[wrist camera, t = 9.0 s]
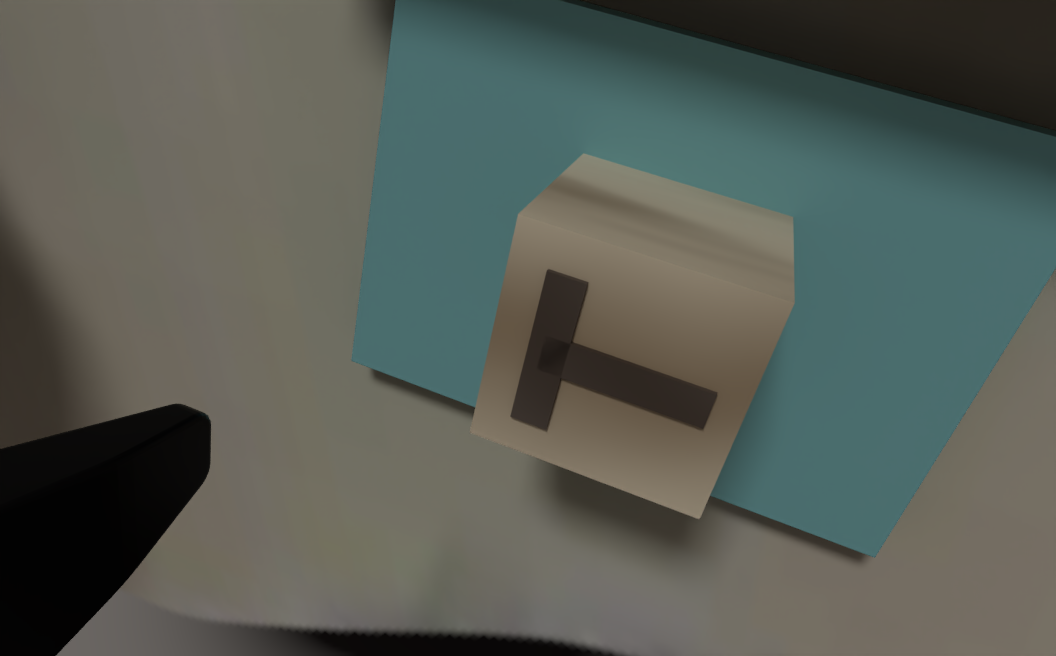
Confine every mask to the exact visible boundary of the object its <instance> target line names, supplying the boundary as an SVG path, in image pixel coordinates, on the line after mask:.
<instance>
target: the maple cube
mask: <svg viewBox="0 0 1056 656" xmlns="http://www.w3.org/2000/svg"><path fill="white" fill-rule="evenodd" d="M794 304H795V291H794V232H793V217H792V216H788V215H785V214H782V213H779V212H775V211H772V210H769V209H765V208H762V207H759V206H755V205H752V204H749V203H746V202H742V201H739V200H736V199H732V198H729V197H726V196H722V195H719V194H716V193H713V192H709V191H706V190H703V189H699V188H696V187H693V186H690V185H686V184H683V183H680V182H676V181H673V180H670V179H666V178H663V177H660V176H657V175H653V174H650V173H647V172H643V171H640V170H637V169H634V168H630V167H627V166H624V165H620V164H617V163H614V162H610V161H607V160H604V159H601V158H597V157H594V156H591V155H587V154H584V153H583V154H582V155H581V156H580V157H579V158H578V159H577V160H576V161H575V162H574V163H573V164H571V165H570V166H569V167H568V168H567V169H566V170H565V171H564V172H563V173H562V174H561V175H560V176H559V177H557V178H556V179H555V180H554V181H553V182H552V183H551V184H550V185H549V186H548V187H547V188H546V189H544V190H543V191H542V192H541V193H540V194H539V195H538V196H537V197H536V198H535V199H534V200H533V201H532V202H530V203H529V204H528V205H527V206H526V207H525V208H524V209H523V210H522V211H521V212H520V213H519V214H518V217H517V221H516V226H515V230H514V235H513V239H512V244H511V248H510V253H509V257H508V262H507V266H506V271H505V276H504V280H503V285H502V289H501V294H500V298H499V303H498V307H497V312H496V316H495V321H494V325H493V330H492V334H491V339H490V343H489V348H488V352H487V357H486V362H485V366H484V371H483V375H482V380H481V384H480V389H479V393H478V398H477V402H476V407H475V411H474V416H473V420H472V425H471V429H470V433H472V434H475V435H477V436H480V437H483V438H485V439H488V440H491V441H493V442H496V443H499V444H501V445H504V446H507V447H509V448H512V449H514V450H517V451H520V452H522V453H525V454H528V455H530V456H533V457H536V458H538V459H541V460H544V461H546V462H549V463H551V464H554V465H557V466H559V467H562V468H565V469H567V470H570V471H573V472H575V473H578V474H581V475H583V476H586V477H588V478H591V479H594V480H596V481H599V482H602V483H604V484H607V485H610V486H612V487H615V488H618V489H620V490H623V491H626V492H628V493H631V494H633V495H636V496H639V497H641V498H644V499H647V500H649V501H652V502H655V503H657V504H660V505H663V506H665V507H668V508H670V509H673V510H676V511H678V512H681V513H684V514H686V515H689V516H692V517H694V518H697V519H700V517H701V515H702V512H703V510H704V508H705V506H706V503H707V501H708V499H709V497H710V494H711V492H712V490H713V487H714V485H715V483H716V481H717V478H718V476H719V474H720V472H721V469H722V467H723V465H724V462H725V460H726V458H727V456H728V453H729V451H730V449H731V447H732V444H733V442H734V440H735V438H736V435H737V433H738V431H739V428H740V426H741V424H742V422H743V419H744V417H745V415H746V413H747V410H748V408H749V406H750V403H751V401H752V399H753V397H754V394H755V392H756V390H757V388H758V385H759V383H760V381H761V378H762V376H763V374H764V372H765V369H766V367H767V365H768V363H769V360H770V358H771V356H772V354H773V351H774V349H775V347H776V344H777V342H778V340H779V338H780V335H781V333H782V331H783V329H784V326H785V324H786V322H787V319H788V317H789V315H790V313H791V310H792V308H793V306H794Z"/></svg>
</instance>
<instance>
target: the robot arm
mask: <svg viewBox="0 0 1056 656" xmlns="http://www.w3.org/2000/svg"><path fill="white" fill-rule="evenodd" d="M210 454H211V421H210V419H209V417H208V415H206V414H205V413H203V412H201V411H198V410H196V409H193V408H191V407H188V406H186V405H183V404H172V405H168V406H164V407H160V408H156V409H152V410H148V411H145V412H141V413H137V414H133V415H129V416H125V417H122V418H118V419H114V420H110V421H106V422H102V423H99V424H95V425H91V426H87V427H83V428H79V429H76V430H72V431H68V432H64V433H60V434H56V435H53V436H49V437H45V438H41V439H37V440H33V441H30V442H26V443H22V444H18V445H14V446H10V447H7V448H3V449H0V656H56V655H57V654H58V653H59V652H60V651H61V650H62V649H63V647H64V646H65V645H66V644H67V643H68V642H69V641H70V640H71V639H72V638H73V637H74V636H75V635H76V634H77V633H78V632H79V631H80V630H81V628H83V627H84V625H85V624H86V623H87V622H88V621H89V620H90V619H91V618H92V617H93V616H94V615H95V614H96V613H97V612H98V611H99V610H100V609H101V607H103V606H104V604H105V603H106V602H107V601H108V600H109V599H110V598H111V597H112V596H113V595H114V594H115V593H116V592H117V591H118V589H119V588H120V587H121V586H122V585H123V584H124V583H125V582H126V580H127V579H128V578H129V577H130V576H131V574H132V573H133V572H134V571H135V570H136V568H137V567H138V566H139V565H140V563H141V562H142V561H143V560H144V558H145V557H146V556H147V554H148V553H149V552H150V551H151V549H152V548H153V547H154V545H155V544H156V543H157V542H158V540H159V539H160V538H161V536H162V535H163V534H164V533H165V531H166V530H167V529H168V528H169V526H170V525H171V524H172V522H173V521H174V520H175V519H176V517H177V516H178V515H179V513H180V512H181V511H182V510H183V508H184V507H185V506H186V504H187V503H188V502H189V501H190V499H191V498H192V497H193V495H194V494H195V493H196V492H197V490H198V489H199V488H200V486H201V485H202V484H203V482H204V481H205V479H206V477H207V474H208V472H209V468H210Z"/></svg>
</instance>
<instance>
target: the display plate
mask: <svg viewBox="0 0 1056 656" xmlns="http://www.w3.org/2000/svg"><path fill="white" fill-rule="evenodd" d="M583 153H584V154H587V155H591V156H594V157H597V158H601V159H604V160H607V161H610V162H614V163H617V164H620V165H624V166H627V167H630V168H634V169H637V170H640V171H643V172H647V173H650V174H653V175H657V176H660V177H663V178H666V179H670V180H673V181H676V182H680V183H683V184H686V185H690V186H693V187H696V188H699V189H703V190H706V191H709V192H713V193H716V194H719V195H722V196H726V197H729V198H732V199H736V200H739V201H742V202H746V203H749V204H752V205H755V206H759V207H762V208H765V209H769V210H772V211H775V212H779V213H782V214H785V215H788V216H792V217H793V232H794V291H795V304H794V306H793V308H792V310H791V313H790V315H789V317H788V319H787V322H786V324H785V326H784V329H783V331H782V333H781V335H780V338H779V340H778V342H777V344H776V347H775V349H774V351H773V354H772V356H771V358H770V360H769V363H768V365H767V367H766V369H765V372H764V374H763V376H762V378H761V381H760V383H759V385H758V388H757V390H756V392H755V394H754V397H753V399H752V401H751V403H750V406H749V408H748V410H747V413H746V415H745V417H744V419H743V422H742V424H741V426H740V428H739V431H738V433H737V435H736V438H735V440H734V442H733V444H732V447H731V449H730V451H729V453H728V456H727V458H726V460H725V462H724V465H723V467H722V469H721V472H720V474H719V476H718V478H717V481H716V483H715V485H714V487H713V490H712V492H711V494H710V496H712V497H715V498H717V499H720V500H723V501H725V502H728V503H731V504H733V505H736V506H739V507H741V508H744V509H747V510H749V511H752V512H755V513H757V514H760V515H763V516H765V517H768V518H771V519H773V520H776V521H779V522H781V523H784V524H787V525H789V526H792V527H795V528H797V529H800V530H803V531H805V532H808V533H811V534H813V535H816V536H818V537H821V538H824V539H826V540H829V541H832V542H834V543H837V544H840V545H842V546H845V547H848V548H850V549H853V550H856V551H858V552H861V553H864V554H866V555H869V556H872V557H874V558H875V557H876V555H877V553H878V552H879V550H880V549H881V547H882V545H883V544H884V542H885V541H886V539H887V537H888V536H889V534H890V533H891V531H892V529H893V528H894V526H895V525H896V523H897V521H898V520H899V518H900V517H901V515H902V513H903V512H904V510H905V509H906V507H907V505H908V504H909V502H910V501H911V499H912V497H913V496H914V494H915V493H916V491H917V489H918V488H919V486H920V485H921V483H922V481H923V480H924V478H925V477H926V475H927V473H928V472H929V470H930V469H931V467H932V465H933V464H934V462H935V461H936V459H937V457H938V456H939V454H940V453H941V451H942V449H943V448H944V446H945V445H946V443H947V441H948V440H949V438H950V437H951V435H952V433H953V432H954V430H955V429H956V427H957V425H958V424H959V422H960V421H961V419H962V417H963V416H964V414H965V413H966V411H967V409H968V408H969V406H970V405H971V403H972V401H973V400H974V398H975V397H976V395H977V393H978V392H979V390H980V389H981V387H982V385H983V384H984V382H985V381H986V379H987V377H988V376H989V374H990V373H991V371H992V369H993V368H994V366H995V364H996V363H997V361H998V360H999V358H1000V356H1001V355H1002V353H1003V352H1004V350H1005V348H1006V347H1007V345H1008V344H1009V342H1010V340H1011V339H1012V337H1013V336H1014V334H1015V332H1016V331H1017V329H1018V328H1019V326H1020V324H1021V323H1022V321H1023V320H1024V318H1025V316H1026V315H1027V313H1028V312H1029V310H1030V308H1031V307H1032V305H1033V304H1034V302H1035V300H1036V299H1037V297H1038V296H1039V294H1040V292H1041V291H1042V289H1043V288H1044V286H1045V284H1046V283H1047V281H1048V280H1049V278H1050V276H1051V275H1052V273H1053V272H1054V270H1055V268H1056V131H1055V130H1051V129H1047V128H1044V127H1040V126H1036V125H1033V124H1029V123H1025V122H1022V121H1018V120H1014V119H1011V118H1007V117H1004V116H1000V115H996V114H993V113H989V112H985V111H982V110H978V109H974V108H971V107H967V106H963V105H960V104H956V103H952V102H949V101H945V100H941V99H938V98H934V97H930V96H927V95H923V94H920V93H916V92H912V91H909V90H905V89H901V88H898V87H894V86H890V85H887V84H883V83H879V82H876V81H872V80H868V79H865V78H861V77H857V76H854V75H850V74H847V73H843V72H839V71H836V70H832V69H828V68H825V67H821V66H817V65H814V64H810V63H806V62H803V61H799V60H795V59H792V58H788V57H784V56H781V55H777V54H774V53H770V52H766V51H763V50H759V49H755V48H752V47H748V46H744V45H741V44H737V43H733V42H730V41H726V40H722V39H719V38H715V37H711V36H708V35H704V34H700V33H697V32H693V31H690V30H686V29H682V28H679V27H675V26H671V25H668V24H664V23H660V22H657V21H653V20H649V19H646V18H642V17H638V16H635V15H631V14H627V13H624V12H620V11H617V10H613V9H609V8H606V7H602V6H598V5H595V4H591V3H587V2H584V1H580V0H396V1H395V10H394V18H393V26H392V34H391V42H390V50H389V59H388V67H387V75H386V83H385V91H384V99H383V108H382V116H381V124H380V132H379V140H378V148H377V157H376V165H375V173H374V181H373V189H372V197H371V205H370V214H369V222H368V230H367V238H366V246H365V254H364V263H363V271H362V279H361V287H360V295H359V303H358V312H357V320H356V328H355V336H354V344H353V352H352V361H353V362H356V363H359V364H361V365H364V366H367V367H369V368H372V369H375V370H377V371H380V372H383V373H385V374H388V375H391V376H393V377H396V378H398V379H401V380H404V381H406V382H409V383H412V384H414V385H417V386H420V387H422V388H425V389H428V390H430V391H433V392H436V393H438V394H441V395H444V396H446V397H449V398H452V399H454V400H457V401H460V402H462V403H465V404H468V405H470V406H473V407H476V402H477V398H478V393H479V389H480V384H481V380H482V375H483V371H484V366H485V362H486V357H487V352H488V348H489V343H490V339H491V334H492V330H493V325H494V321H495V316H496V312H497V307H498V303H499V298H500V294H501V289H502V285H503V280H504V276H505V271H506V266H507V262H508V257H509V253H510V248H511V244H512V239H513V235H514V230H515V226H516V221H517V217H518V214H519V213H520V212H521V211H522V210H523V209H524V208H525V207H526V206H527V205H528V204H529V203H530V202H532V201H533V200H534V199H535V198H536V197H537V196H538V195H539V194H540V193H541V192H542V191H543V190H544V189H546V188H547V187H548V186H549V185H550V184H551V183H552V182H553V181H554V180H555V179H556V178H557V177H559V176H560V175H561V174H562V173H563V172H564V171H565V170H566V169H567V168H568V167H569V166H570V165H571V164H573V163H574V162H575V161H576V160H577V159H578V158H579V157H580V156H581V155H582V154H583Z"/></svg>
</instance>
